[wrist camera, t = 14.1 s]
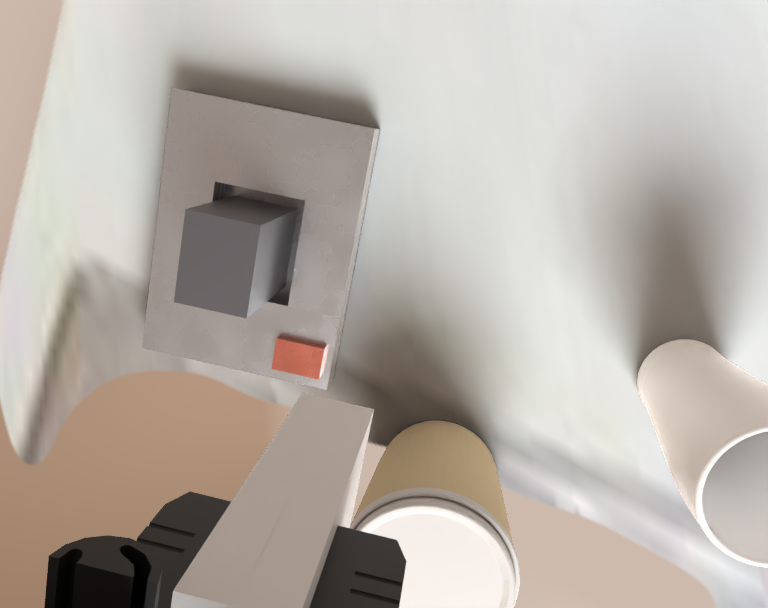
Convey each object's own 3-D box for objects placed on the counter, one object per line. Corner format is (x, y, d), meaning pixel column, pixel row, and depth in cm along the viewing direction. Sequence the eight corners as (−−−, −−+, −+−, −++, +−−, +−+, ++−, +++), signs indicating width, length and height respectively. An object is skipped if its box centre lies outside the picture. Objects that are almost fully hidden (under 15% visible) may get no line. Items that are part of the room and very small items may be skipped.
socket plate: (187, 90, 44) (167, 87, 41) (380, 129, 43) (373, 129, 40) (158, 337, 48) (138, 350, 45) (333, 377, 47) (324, 393, 44)
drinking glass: (754, 339, 43) (894, 445, 29) (716, 441, 45) (831, 589, 30) (641, 313, 44) (724, 404, 29) (609, 414, 45) (672, 547, 31)
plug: (235, 195, 45) (185, 209, 37) (298, 208, 44) (260, 225, 37) (224, 272, 46) (173, 302, 38) (285, 286, 46) (246, 318, 38)
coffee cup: (341, 482, 49) (299, 592, 37) (423, 379, 46) (406, 462, 35) (451, 562, 49) (444, 696, 38) (539, 464, 47) (560, 575, 35)
